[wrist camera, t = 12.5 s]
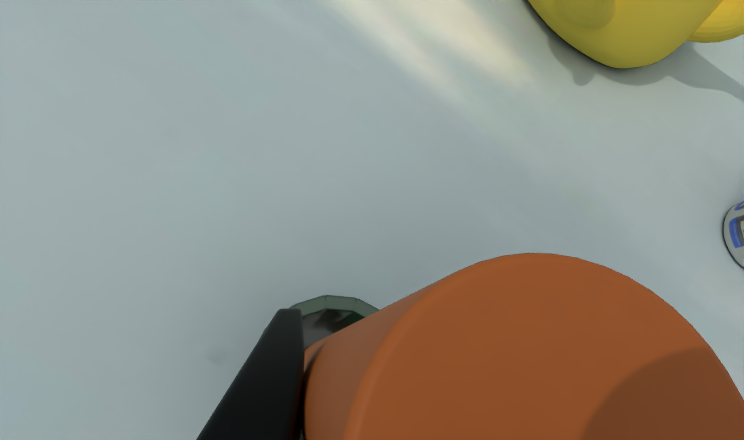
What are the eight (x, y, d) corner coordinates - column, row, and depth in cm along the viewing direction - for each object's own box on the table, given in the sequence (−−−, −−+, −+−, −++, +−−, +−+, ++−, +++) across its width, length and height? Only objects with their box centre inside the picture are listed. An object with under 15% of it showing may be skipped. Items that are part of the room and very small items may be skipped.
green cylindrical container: (347, 469, 19) (371, 510, 14) (229, 408, 19) (209, 427, 14) (402, 346, 21) (441, 342, 16) (295, 289, 21) (300, 267, 16)
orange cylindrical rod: (393, 402, 14) (869, 585, 3) (314, 448, 14) (509, 991, 2) (354, 322, 15) (619, 188, 3) (276, 362, 14) (250, 376, 2)
